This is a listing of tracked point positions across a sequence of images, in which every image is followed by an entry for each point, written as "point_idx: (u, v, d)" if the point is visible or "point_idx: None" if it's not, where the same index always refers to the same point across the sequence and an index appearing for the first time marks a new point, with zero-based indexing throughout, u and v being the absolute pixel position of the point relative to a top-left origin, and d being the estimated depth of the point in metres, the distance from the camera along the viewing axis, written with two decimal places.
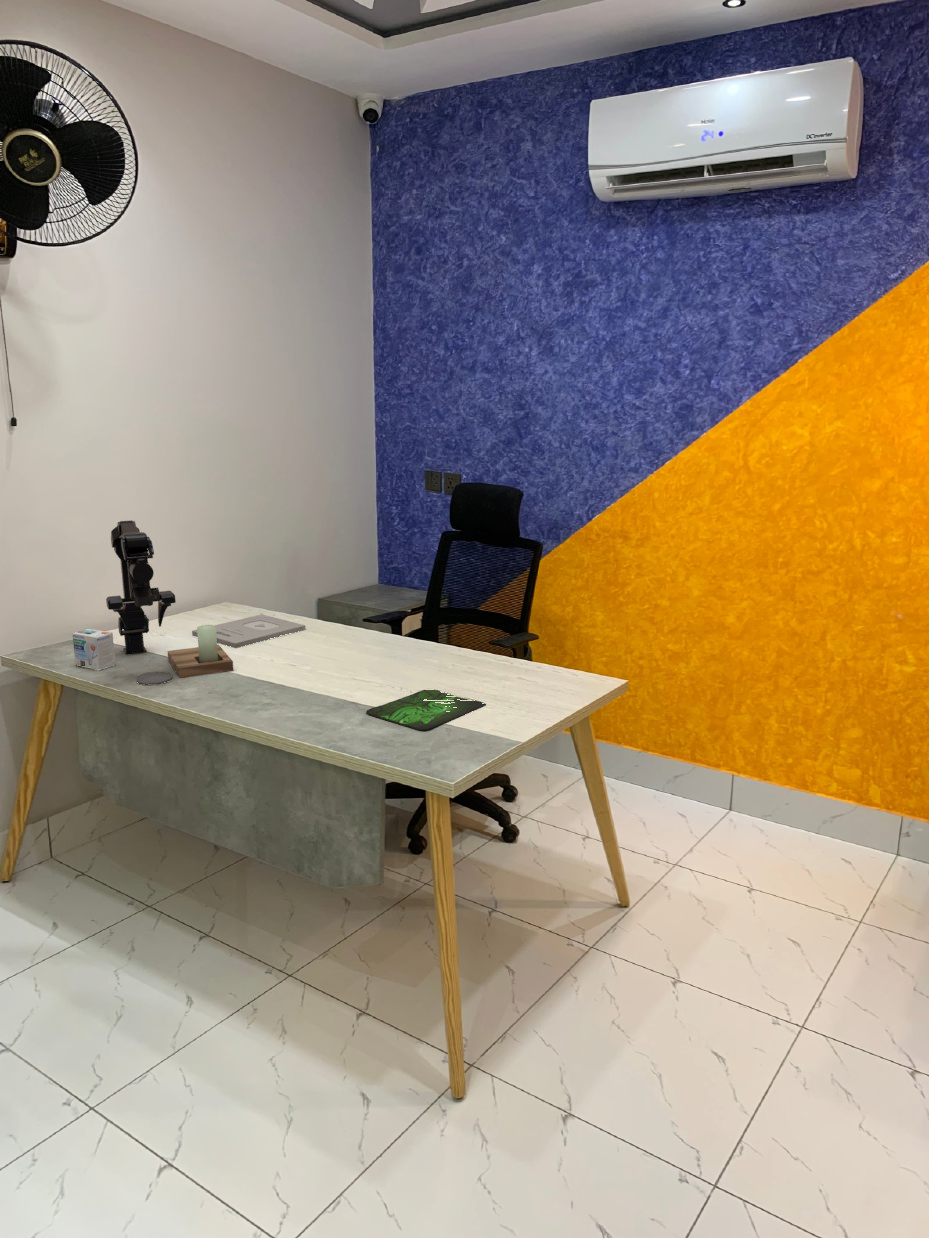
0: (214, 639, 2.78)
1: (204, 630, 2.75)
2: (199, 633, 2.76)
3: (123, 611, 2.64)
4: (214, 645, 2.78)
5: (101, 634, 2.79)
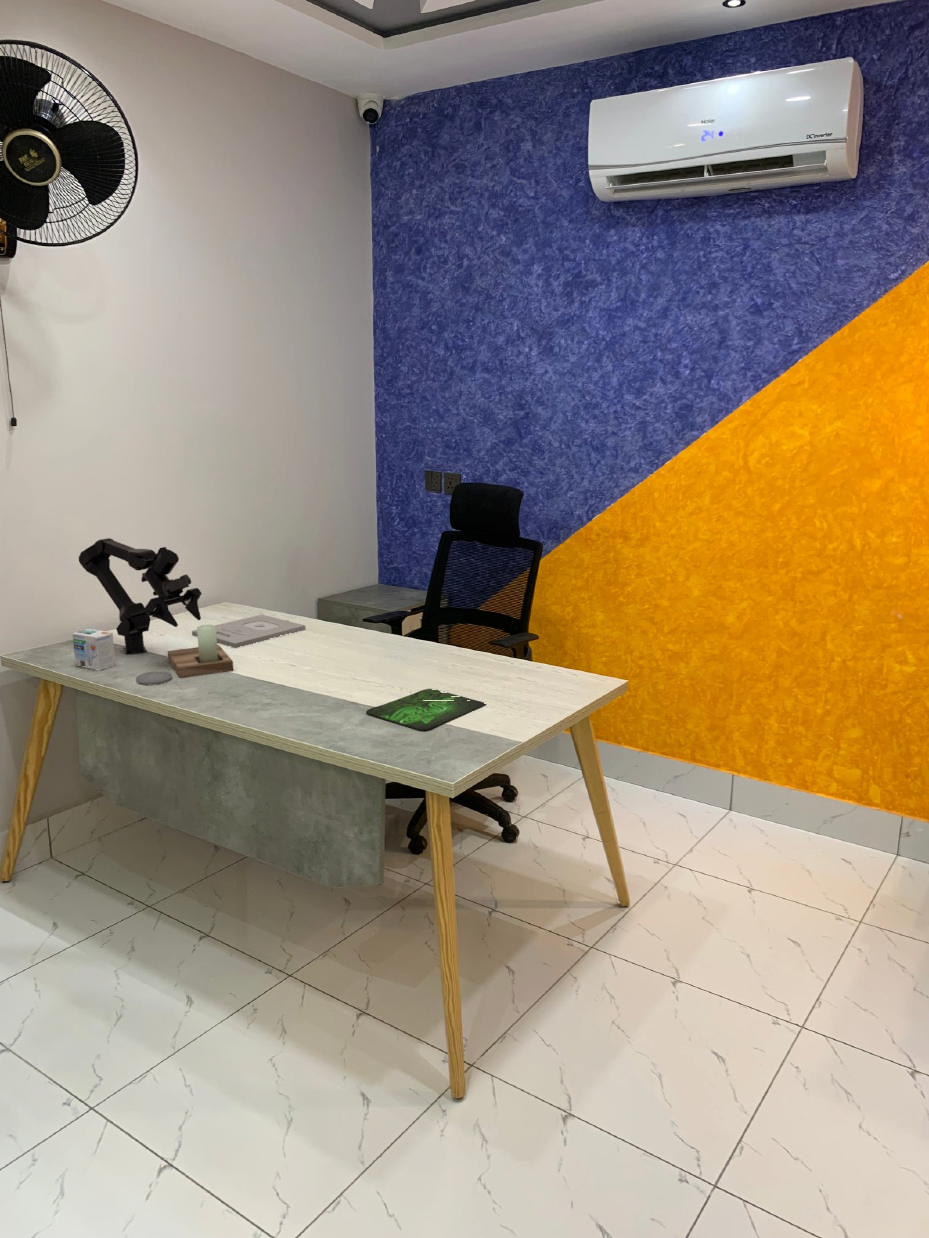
0: (214, 639, 2.78)
1: (204, 630, 2.75)
2: (199, 633, 2.76)
3: (167, 605, 2.77)
4: (214, 645, 2.78)
5: (101, 634, 2.79)
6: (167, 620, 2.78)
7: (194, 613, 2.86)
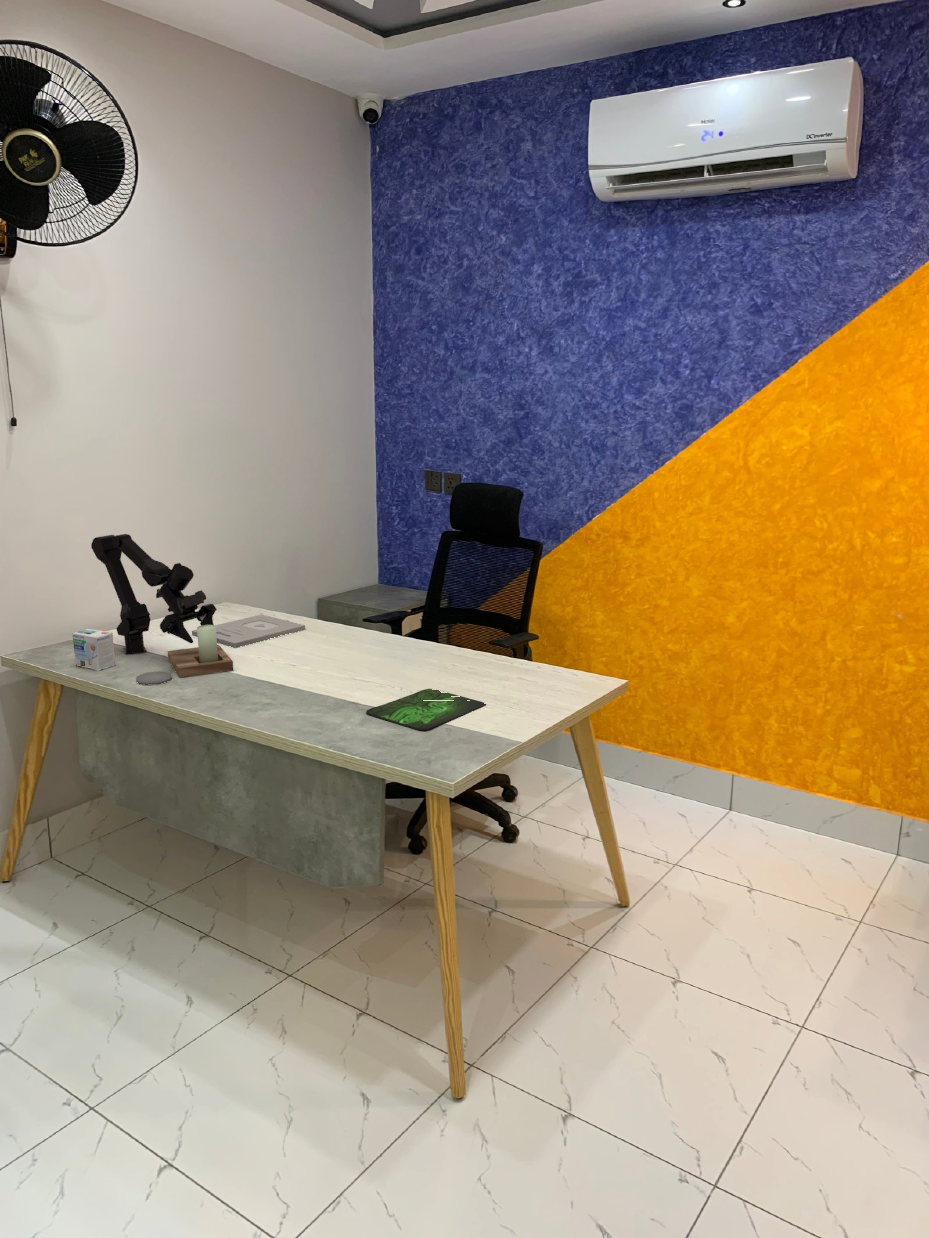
0: (214, 639, 2.78)
1: (204, 630, 2.75)
2: (199, 633, 2.76)
3: (182, 622, 2.75)
4: (214, 645, 2.78)
5: (101, 634, 2.79)
6: (182, 637, 2.76)
7: None
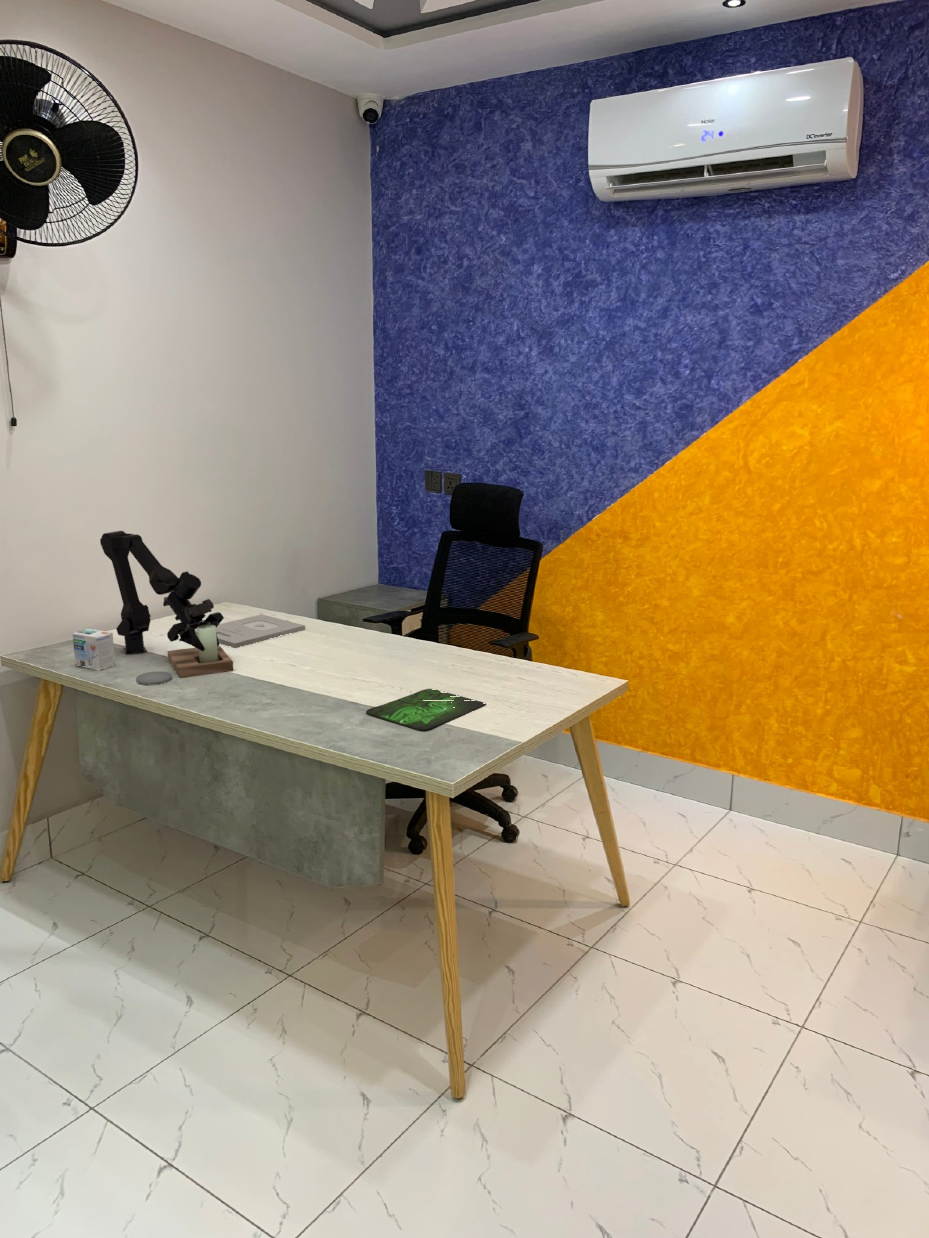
0: (214, 639, 2.78)
1: (204, 630, 2.75)
2: (199, 633, 2.76)
3: (194, 629, 2.76)
4: (214, 645, 2.78)
5: (101, 634, 2.79)
6: (194, 644, 2.77)
7: None
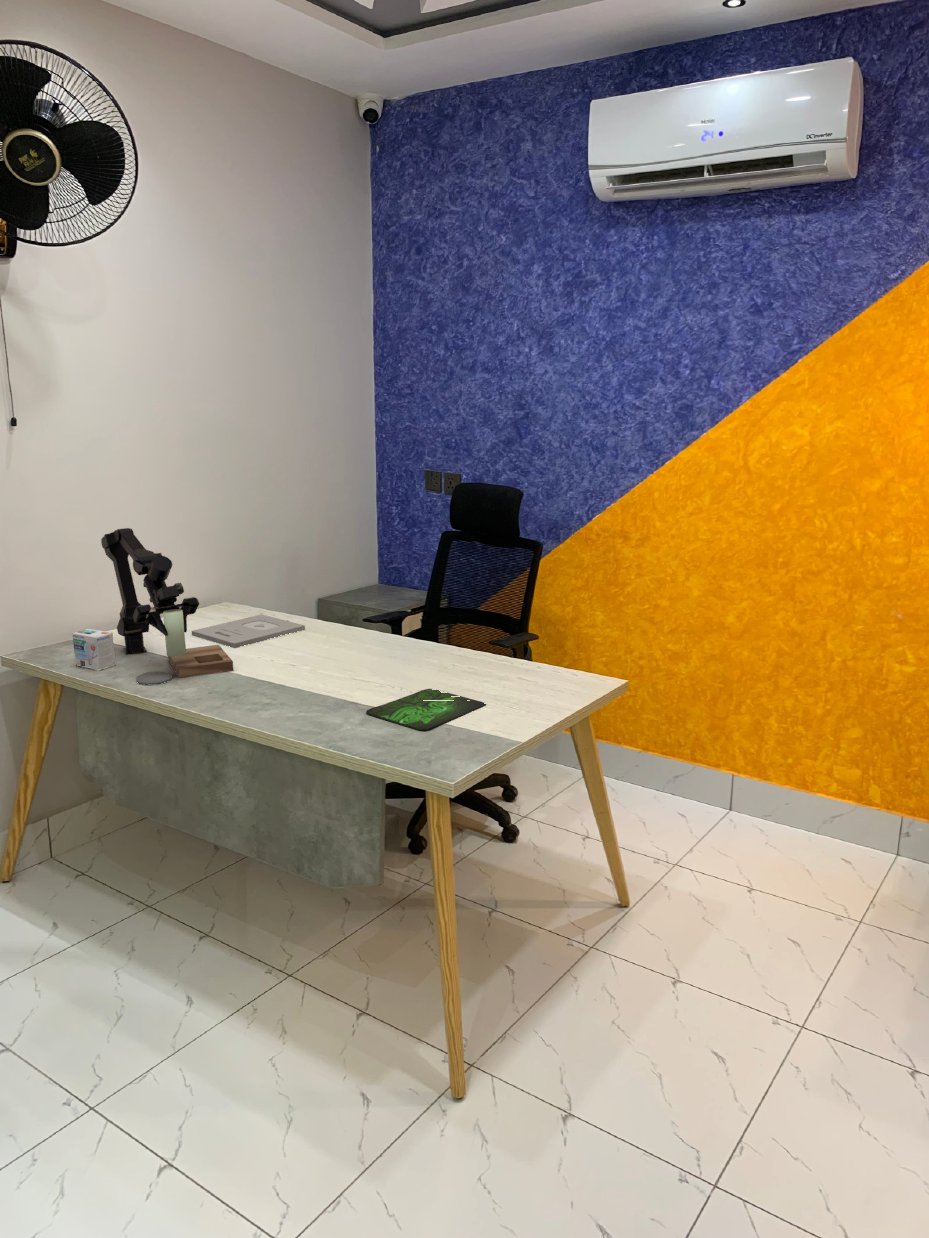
0: (179, 625, 2.68)
1: (167, 614, 2.66)
2: (164, 617, 2.68)
3: (158, 613, 2.67)
4: (178, 631, 2.68)
5: (101, 634, 2.79)
6: (159, 628, 2.68)
7: None
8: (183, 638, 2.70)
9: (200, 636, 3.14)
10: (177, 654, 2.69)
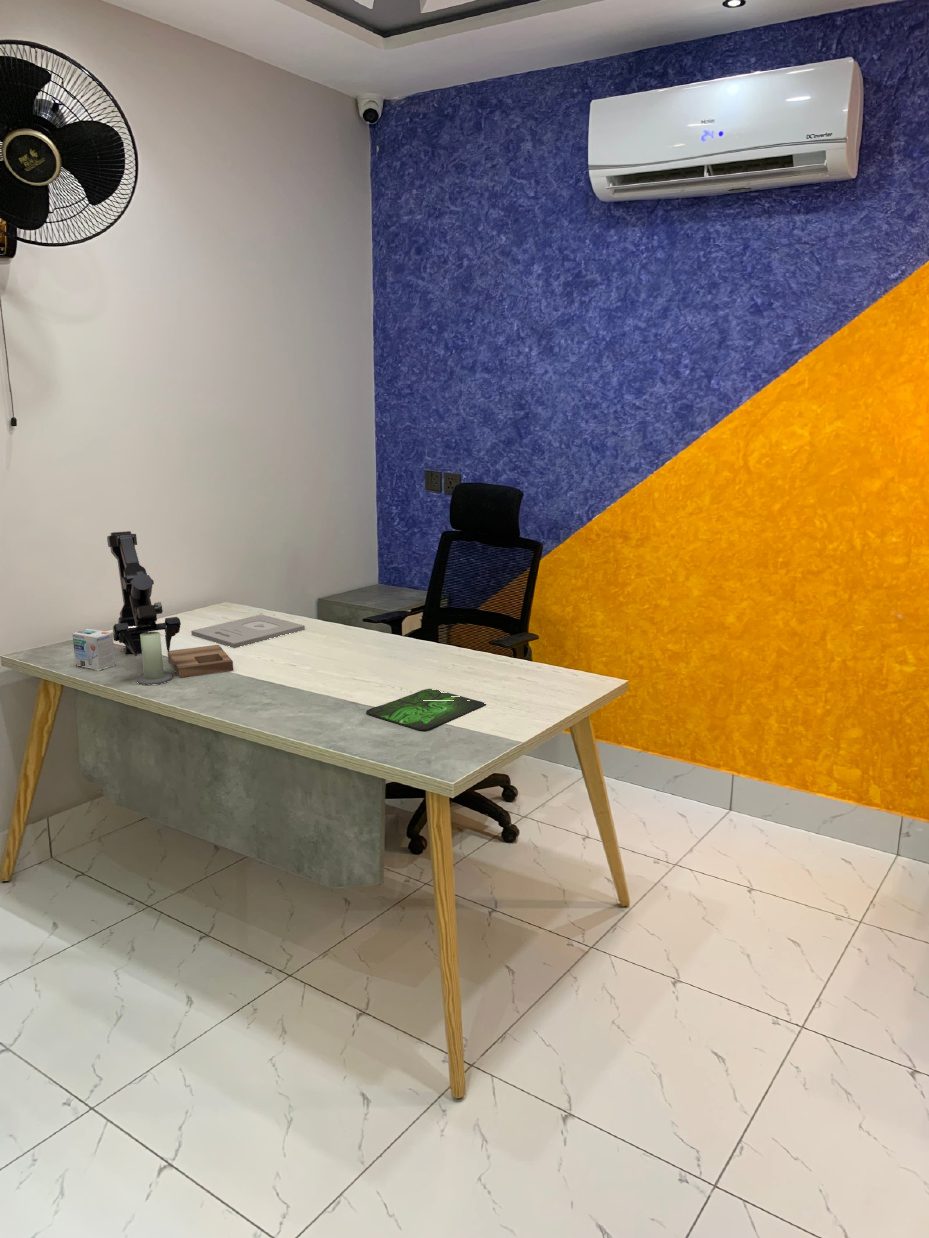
0: (154, 648, 2.65)
1: (143, 637, 2.64)
2: None
3: (129, 633, 2.65)
4: (154, 654, 2.66)
5: (101, 634, 2.79)
6: (130, 648, 2.66)
7: (166, 643, 2.70)
8: (159, 661, 2.68)
9: (200, 636, 3.14)
10: (152, 677, 2.67)
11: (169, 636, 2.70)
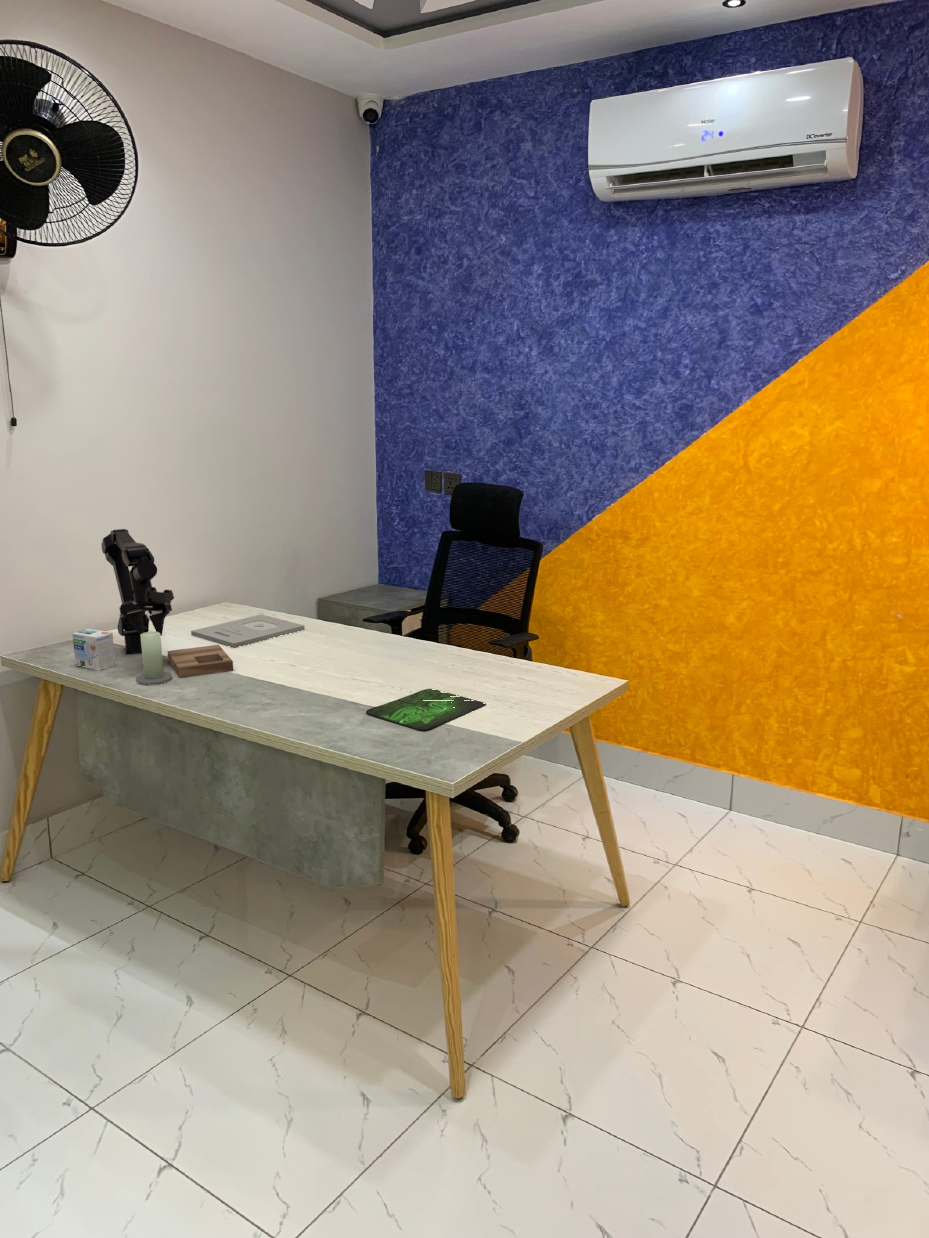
0: (154, 648, 2.65)
1: (143, 637, 2.64)
2: (141, 639, 2.66)
3: (144, 613, 2.73)
4: (154, 654, 2.66)
5: (101, 634, 2.79)
6: (136, 626, 2.73)
7: (157, 627, 2.83)
8: (159, 661, 2.68)
9: (200, 636, 3.14)
10: (152, 677, 2.67)
11: (163, 621, 2.83)
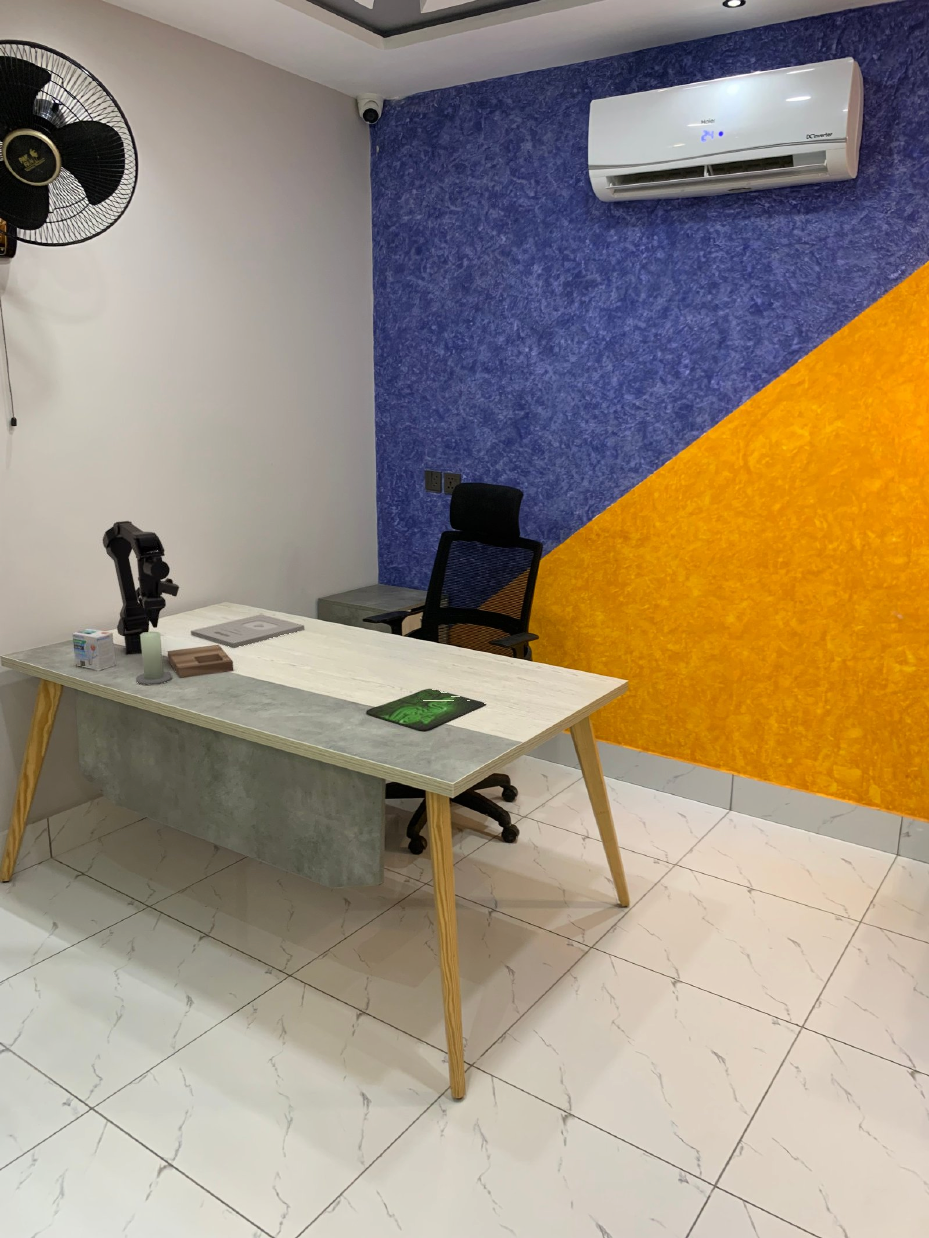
0: (154, 648, 2.65)
1: (143, 637, 2.64)
2: None
3: None
4: (154, 654, 2.66)
5: (101, 634, 2.79)
6: (152, 618, 2.75)
7: None
8: (159, 661, 2.68)
9: (199, 636, 3.14)
10: (152, 677, 2.67)
11: None
